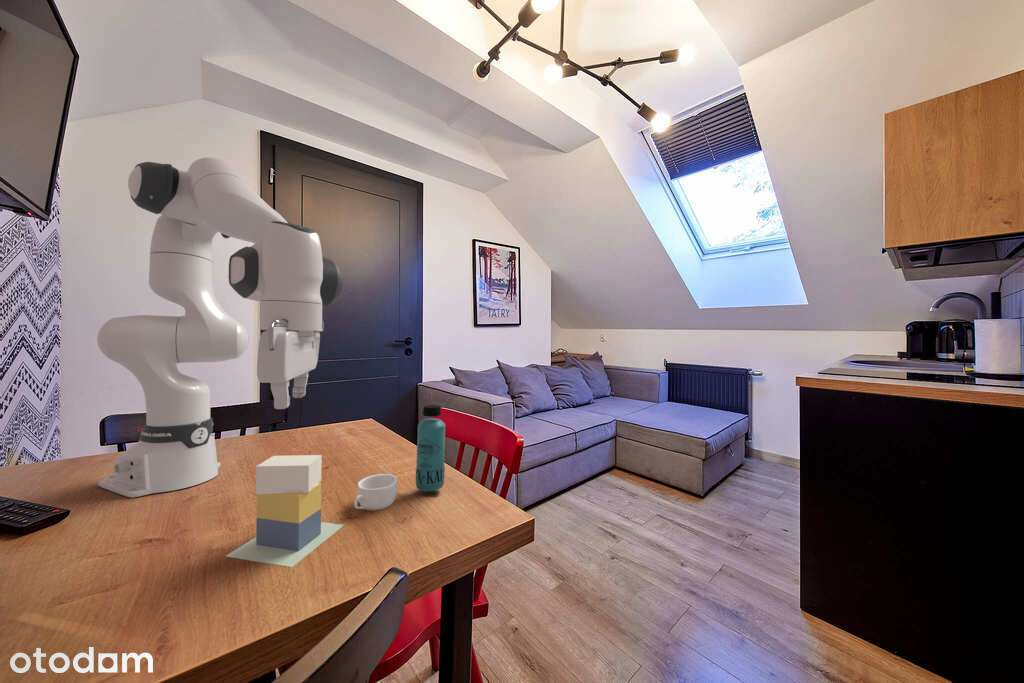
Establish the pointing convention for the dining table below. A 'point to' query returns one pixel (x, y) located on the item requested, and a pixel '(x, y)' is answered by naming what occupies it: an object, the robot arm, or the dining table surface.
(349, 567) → the dining table surface
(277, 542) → the navy brick
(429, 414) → the beverage bottle
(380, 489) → the teacup
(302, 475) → the cream brick
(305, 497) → the mustard brick
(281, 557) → the build plate
